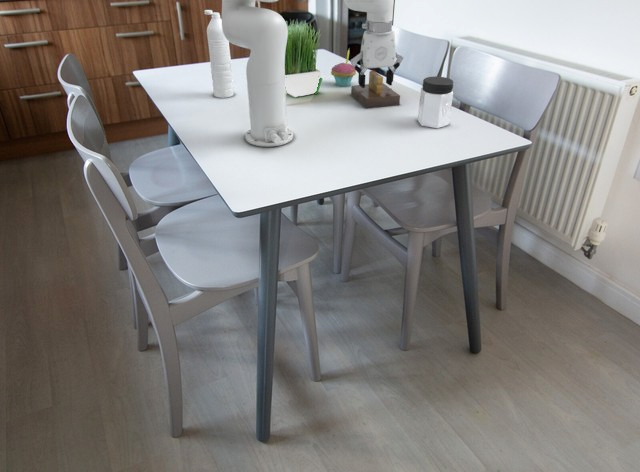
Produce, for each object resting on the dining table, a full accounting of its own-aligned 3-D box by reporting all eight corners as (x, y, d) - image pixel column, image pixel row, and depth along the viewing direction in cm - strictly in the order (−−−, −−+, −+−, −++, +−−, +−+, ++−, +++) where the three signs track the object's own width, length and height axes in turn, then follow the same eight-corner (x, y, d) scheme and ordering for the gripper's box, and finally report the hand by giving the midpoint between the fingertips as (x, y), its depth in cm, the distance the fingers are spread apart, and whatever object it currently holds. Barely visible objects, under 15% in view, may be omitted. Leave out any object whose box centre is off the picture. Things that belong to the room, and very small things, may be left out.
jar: (431, 130, 138) (437, 86, 131) (411, 121, 143) (415, 79, 137) (454, 123, 142) (461, 81, 136) (433, 115, 148) (439, 74, 141)
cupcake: (346, 79, 179) (347, 44, 172) (360, 85, 173) (362, 49, 166) (326, 83, 175) (326, 47, 169) (339, 89, 169) (340, 52, 162)
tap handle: (382, 93, 156) (383, 76, 153) (376, 93, 155) (377, 76, 152) (373, 86, 161) (374, 70, 159) (368, 87, 161) (369, 70, 158)
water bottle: (237, 95, 164) (230, 12, 150) (220, 99, 160) (211, 15, 146) (223, 89, 169) (215, 9, 155) (206, 93, 166) (196, 11, 152)
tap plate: (399, 105, 156) (400, 95, 154) (366, 108, 153) (366, 98, 151) (382, 91, 167) (383, 82, 165) (350, 94, 164) (351, 85, 163)
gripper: (355, 31, 143) (353, 91, 152) (411, 27, 147) (405, 86, 157) (347, 26, 149) (345, 84, 159) (400, 22, 153) (396, 80, 163)
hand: (375, 85), depth 158 cm, fingers open, 8 cm apart
